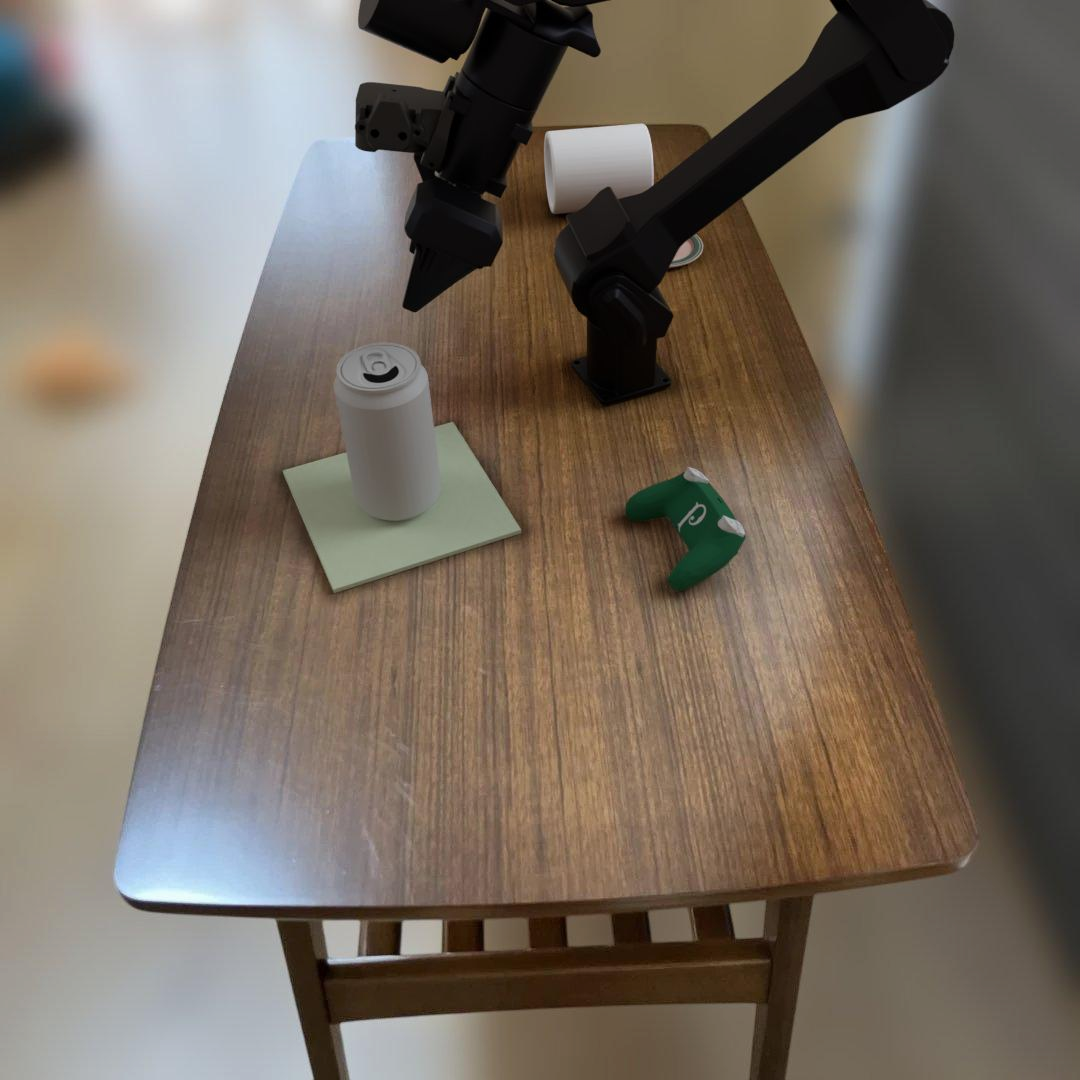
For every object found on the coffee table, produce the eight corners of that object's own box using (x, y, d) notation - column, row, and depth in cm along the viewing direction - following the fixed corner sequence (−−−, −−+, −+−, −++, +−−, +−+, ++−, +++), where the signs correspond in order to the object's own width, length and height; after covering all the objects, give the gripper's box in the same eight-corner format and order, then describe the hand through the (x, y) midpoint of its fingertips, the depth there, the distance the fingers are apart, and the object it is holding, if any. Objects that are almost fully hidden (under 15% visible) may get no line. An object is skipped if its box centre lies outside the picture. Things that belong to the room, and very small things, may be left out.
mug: (652, 219, 113) (655, 143, 108) (554, 228, 113) (553, 152, 107) (630, 167, 122) (632, 94, 117) (540, 175, 121) (537, 102, 116)
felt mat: (521, 533, 81) (521, 529, 80) (333, 593, 77) (333, 589, 77) (453, 425, 90) (453, 421, 90) (283, 474, 86) (282, 470, 86)
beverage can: (367, 537, 80) (342, 402, 72) (347, 482, 85) (321, 349, 76) (452, 514, 82) (437, 380, 73) (428, 462, 86) (411, 329, 78)
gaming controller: (702, 608, 77) (764, 549, 75) (668, 591, 75) (732, 529, 73) (648, 523, 84) (704, 466, 82) (615, 505, 81) (672, 446, 79)
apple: (709, 269, 106) (714, 205, 102) (625, 274, 106) (627, 210, 101) (695, 228, 112) (700, 166, 107) (615, 232, 112) (617, 170, 107)
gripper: (397, -5, 80) (323, 187, 89) (377, 77, 66) (292, 296, 74) (536, 66, 84) (452, 244, 92) (547, 158, 69) (446, 358, 78)
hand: (412, 280), depth 84 cm, fingers open, 9 cm apart
